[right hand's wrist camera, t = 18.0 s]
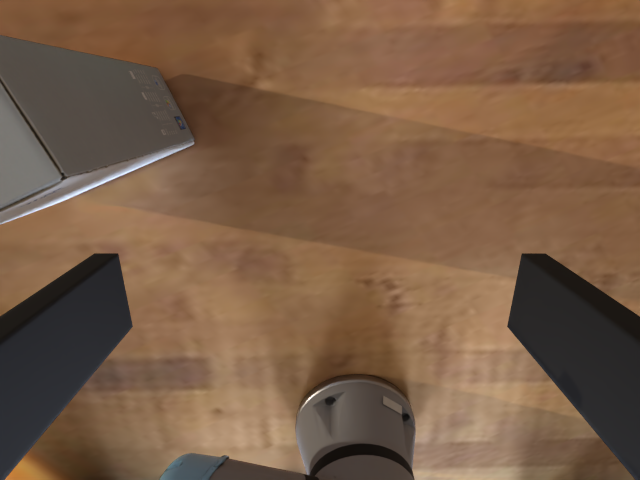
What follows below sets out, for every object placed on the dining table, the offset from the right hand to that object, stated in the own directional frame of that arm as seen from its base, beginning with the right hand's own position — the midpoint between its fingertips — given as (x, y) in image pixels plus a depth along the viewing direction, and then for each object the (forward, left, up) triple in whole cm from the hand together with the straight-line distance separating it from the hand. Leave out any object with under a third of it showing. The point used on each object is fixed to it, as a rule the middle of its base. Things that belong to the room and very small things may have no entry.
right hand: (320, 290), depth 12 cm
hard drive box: (-3, +21, -27) cm, 34 cm away
